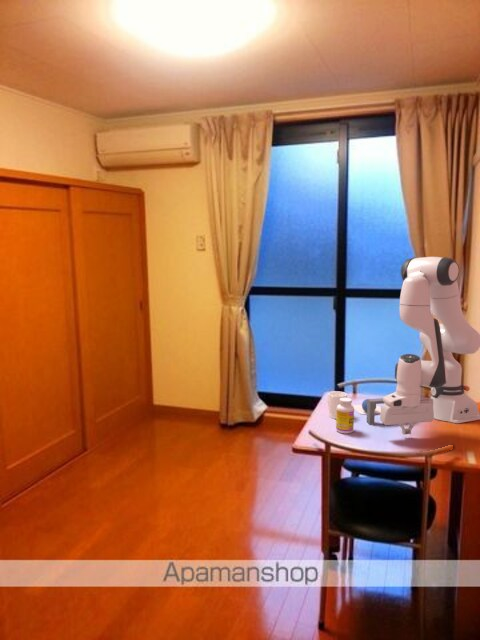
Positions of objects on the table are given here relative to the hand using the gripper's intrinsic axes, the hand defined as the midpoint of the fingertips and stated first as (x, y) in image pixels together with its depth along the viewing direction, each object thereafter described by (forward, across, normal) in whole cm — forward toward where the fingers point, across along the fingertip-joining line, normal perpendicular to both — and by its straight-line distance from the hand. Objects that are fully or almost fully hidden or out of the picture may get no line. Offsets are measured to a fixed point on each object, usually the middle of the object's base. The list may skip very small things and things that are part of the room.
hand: (406, 433), depth 185 cm
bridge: (+2, 0, -17) cm, 17 cm away
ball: (-1, +2, -29) cm, 29 cm away
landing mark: (+2, 0, -33) cm, 33 cm away
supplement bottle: (+2, +20, -11) cm, 23 cm away
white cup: (+2, +17, -27) cm, 32 cm away
